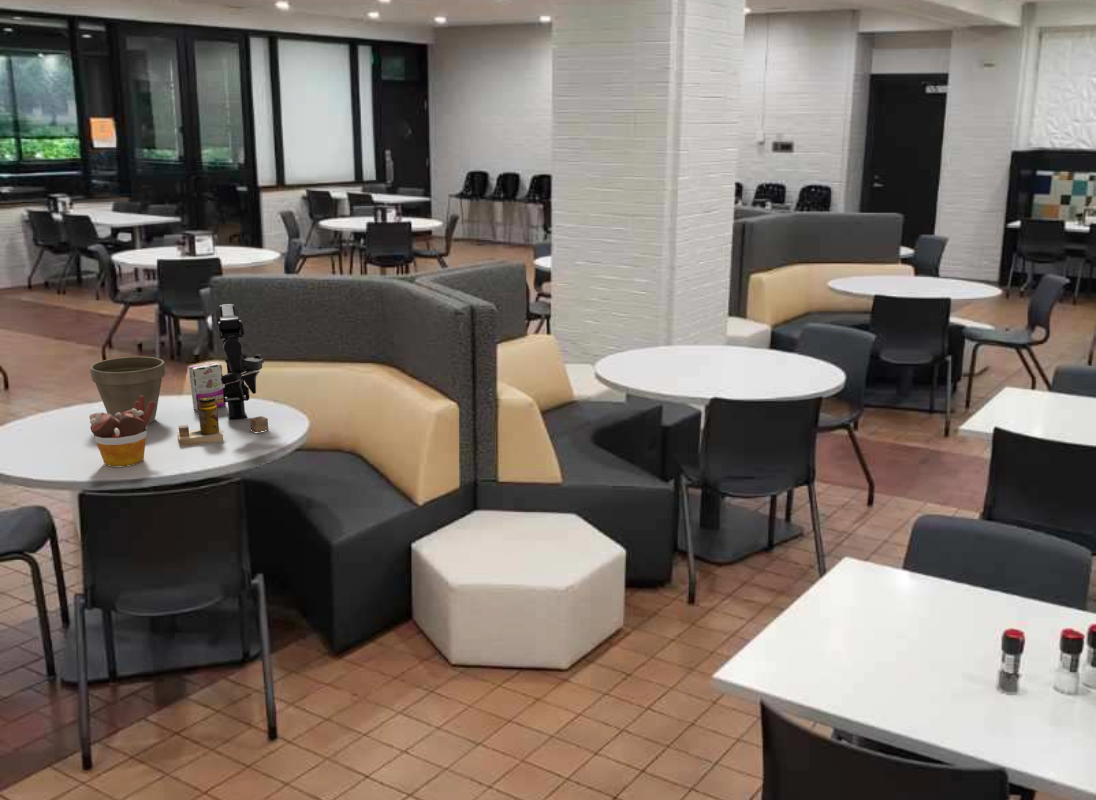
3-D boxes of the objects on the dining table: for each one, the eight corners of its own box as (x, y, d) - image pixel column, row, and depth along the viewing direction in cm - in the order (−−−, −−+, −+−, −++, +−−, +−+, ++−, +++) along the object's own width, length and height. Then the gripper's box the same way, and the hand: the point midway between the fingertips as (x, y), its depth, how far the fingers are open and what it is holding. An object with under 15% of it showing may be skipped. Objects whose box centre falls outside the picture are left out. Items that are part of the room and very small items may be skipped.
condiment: (224, 432, 366) (220, 398, 363) (200, 437, 361) (197, 402, 357) (214, 428, 371) (210, 394, 368) (190, 433, 366) (187, 399, 363)
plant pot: (182, 422, 389) (175, 363, 384) (113, 436, 373) (105, 374, 368) (153, 409, 407) (147, 352, 402) (86, 422, 391) (79, 363, 386)
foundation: (177, 439, 368) (176, 423, 366) (220, 434, 373) (219, 419, 372) (179, 446, 360) (178, 430, 358) (223, 441, 365) (221, 425, 363)
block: (250, 430, 377) (249, 418, 376) (262, 428, 380) (261, 416, 379) (256, 433, 374) (255, 421, 373) (268, 430, 377) (267, 418, 375)
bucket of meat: (113, 474, 332) (105, 412, 327) (82, 465, 342) (74, 404, 337) (168, 457, 348) (162, 397, 343) (138, 449, 357) (131, 391, 352)
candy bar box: (220, 404, 413) (216, 362, 409) (226, 406, 409) (222, 364, 405) (192, 409, 406) (187, 366, 402) (197, 411, 403) (193, 368, 398)
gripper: (242, 354, 363) (257, 398, 365) (266, 343, 380) (280, 385, 383) (213, 361, 365) (228, 405, 368) (238, 350, 383) (252, 392, 386)
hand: (248, 396), depth 376 cm, fingers open, 9 cm apart
